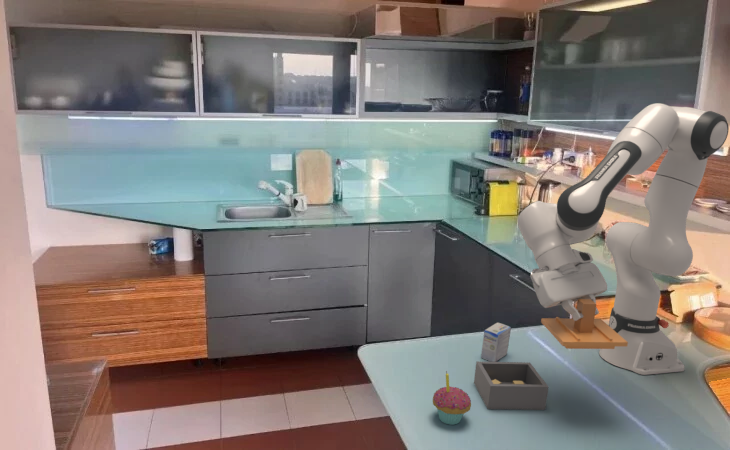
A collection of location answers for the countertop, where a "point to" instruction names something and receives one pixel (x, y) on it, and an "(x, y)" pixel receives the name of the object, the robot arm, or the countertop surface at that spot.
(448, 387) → the cupcake
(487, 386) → the tub
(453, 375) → the countertop surface
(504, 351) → the medicine box
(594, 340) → the lid
